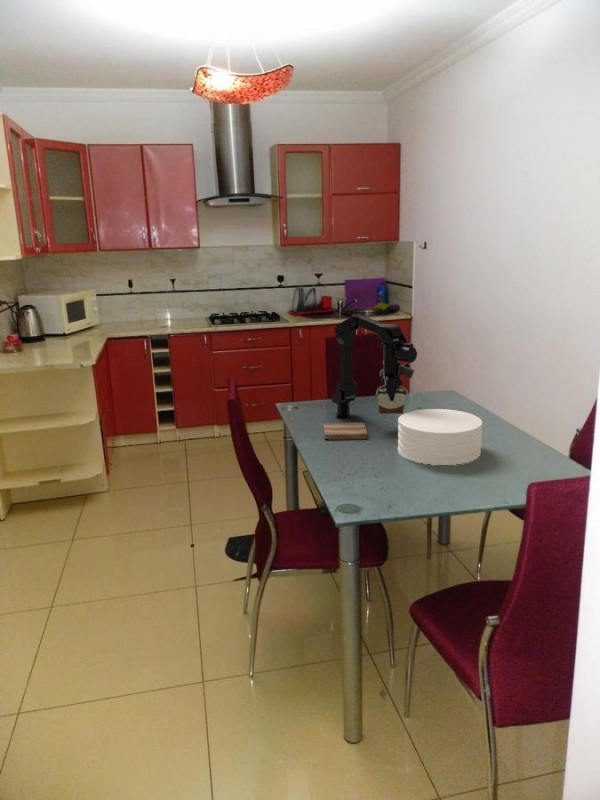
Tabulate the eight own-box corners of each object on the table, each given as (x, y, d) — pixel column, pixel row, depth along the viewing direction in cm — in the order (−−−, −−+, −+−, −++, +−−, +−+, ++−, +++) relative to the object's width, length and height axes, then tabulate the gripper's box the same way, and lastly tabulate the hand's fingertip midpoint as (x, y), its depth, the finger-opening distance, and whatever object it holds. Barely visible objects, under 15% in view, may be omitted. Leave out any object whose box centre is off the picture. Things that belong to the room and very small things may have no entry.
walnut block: (323, 428, 235) (323, 423, 234) (363, 427, 235) (363, 422, 234) (324, 440, 221) (324, 434, 221) (367, 438, 221) (367, 433, 221)
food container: (404, 407, 233) (406, 383, 229) (407, 414, 227) (408, 390, 223) (373, 407, 233) (374, 383, 229) (374, 414, 228) (376, 390, 223)
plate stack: (480, 440, 216) (481, 410, 213) (481, 469, 190) (482, 435, 187) (402, 436, 223) (402, 407, 220) (393, 463, 197) (393, 430, 194)
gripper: (417, 363, 214) (416, 404, 218) (408, 353, 232) (407, 392, 236) (386, 364, 214) (385, 405, 219) (379, 354, 233) (379, 393, 237)
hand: (390, 398), depth 228 cm, fingers closed on food container, 6 cm apart
